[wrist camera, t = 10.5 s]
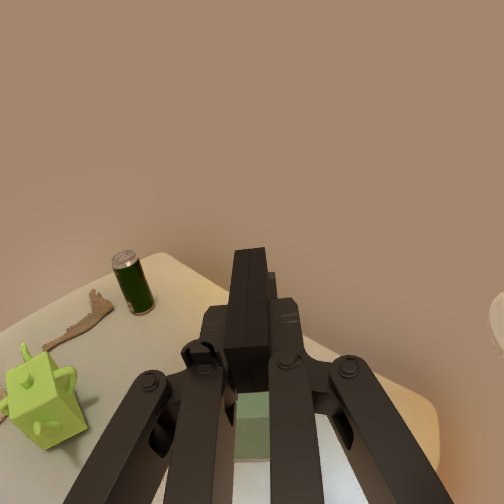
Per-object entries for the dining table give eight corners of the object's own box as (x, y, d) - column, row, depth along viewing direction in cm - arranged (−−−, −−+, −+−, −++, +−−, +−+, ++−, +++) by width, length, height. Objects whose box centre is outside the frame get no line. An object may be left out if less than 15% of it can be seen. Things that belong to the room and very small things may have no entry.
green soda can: (141, 319, 55) (119, 266, 49) (126, 310, 58) (105, 260, 52) (160, 303, 59) (142, 251, 53) (144, 296, 62) (126, 247, 56)
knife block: (293, 368, 41) (289, 311, 36) (301, 458, 29) (301, 415, 23) (221, 373, 42) (203, 318, 37) (212, 461, 29) (184, 420, 24)
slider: (282, 325, 34) (276, 268, 30) (283, 340, 32) (277, 282, 28) (261, 327, 34) (252, 270, 30) (261, 342, 32) (251, 284, 28)
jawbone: (123, 300, 62) (121, 293, 61) (70, 368, 45) (65, 360, 44) (95, 294, 64) (92, 287, 63) (42, 353, 47) (37, 346, 46)
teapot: (80, 469, 27) (31, 430, 22) (19, 447, 28) (-24, 407, 23) (107, 387, 40) (75, 340, 35) (49, 380, 41) (18, 336, 36)
